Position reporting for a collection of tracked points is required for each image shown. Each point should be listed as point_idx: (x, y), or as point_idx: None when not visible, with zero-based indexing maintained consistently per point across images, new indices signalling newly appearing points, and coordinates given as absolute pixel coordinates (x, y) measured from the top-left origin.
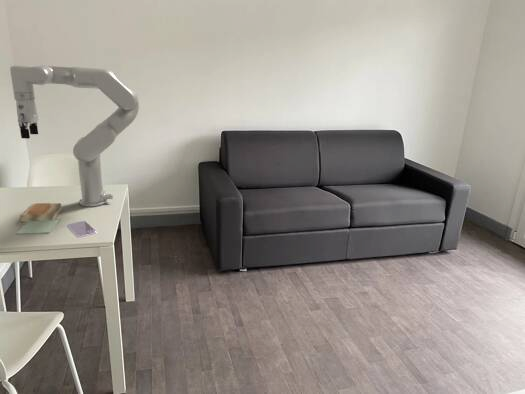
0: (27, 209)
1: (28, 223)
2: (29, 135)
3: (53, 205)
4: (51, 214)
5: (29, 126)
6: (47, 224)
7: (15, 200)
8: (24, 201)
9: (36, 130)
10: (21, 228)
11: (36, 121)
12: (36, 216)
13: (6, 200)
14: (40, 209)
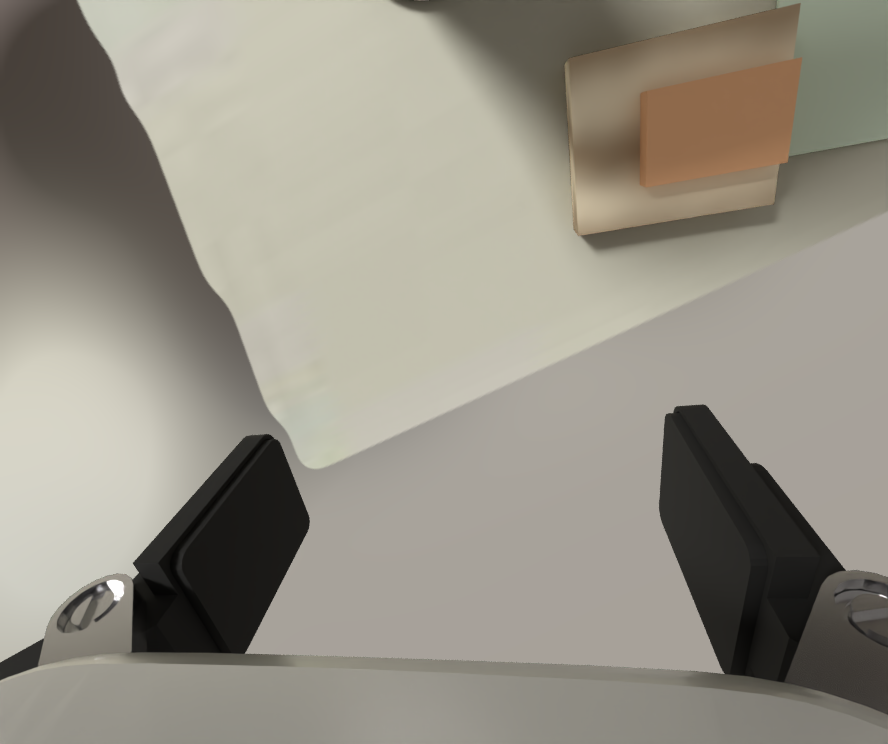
0: (672, 213)
1: (803, 139)
2: (698, 433)
3: (611, 87)
4: (790, 5)
5: (247, 644)
6: (852, 3)
7: (441, 372)
8: (450, 329)
9: (244, 486)
10: (880, 138)
11: (198, 663)
12: None
13: (446, 404)
14: (776, 88)
